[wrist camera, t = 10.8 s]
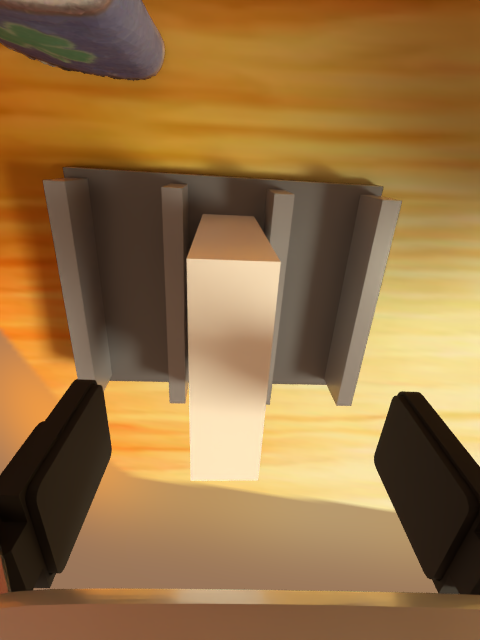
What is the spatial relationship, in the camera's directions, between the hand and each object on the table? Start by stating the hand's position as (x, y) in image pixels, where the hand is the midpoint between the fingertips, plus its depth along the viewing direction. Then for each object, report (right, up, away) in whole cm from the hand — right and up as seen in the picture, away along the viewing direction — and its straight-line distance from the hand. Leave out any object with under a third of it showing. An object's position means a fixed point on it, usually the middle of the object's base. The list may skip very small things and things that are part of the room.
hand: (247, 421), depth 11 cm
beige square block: (-1, +5, +11) cm, 12 cm away
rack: (-1, +5, +12) cm, 13 cm away
